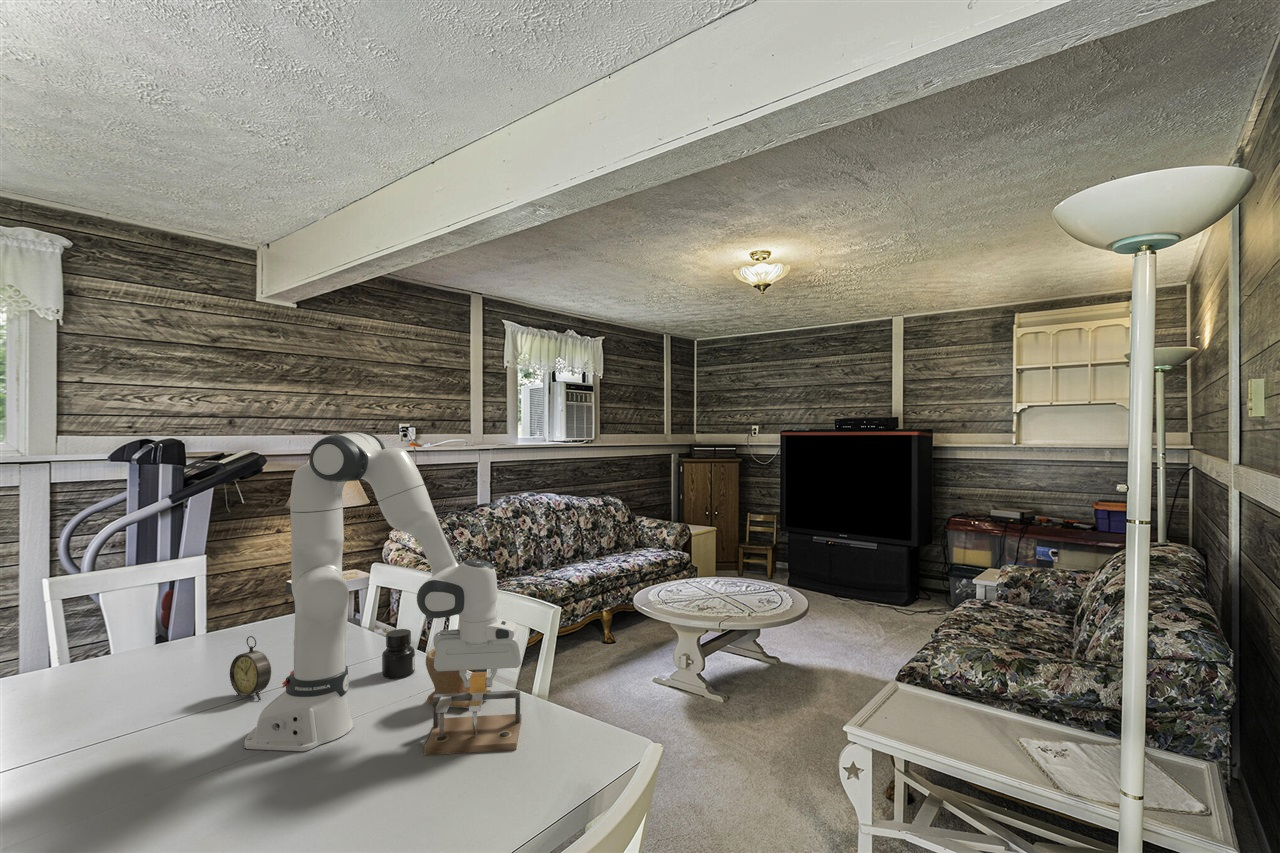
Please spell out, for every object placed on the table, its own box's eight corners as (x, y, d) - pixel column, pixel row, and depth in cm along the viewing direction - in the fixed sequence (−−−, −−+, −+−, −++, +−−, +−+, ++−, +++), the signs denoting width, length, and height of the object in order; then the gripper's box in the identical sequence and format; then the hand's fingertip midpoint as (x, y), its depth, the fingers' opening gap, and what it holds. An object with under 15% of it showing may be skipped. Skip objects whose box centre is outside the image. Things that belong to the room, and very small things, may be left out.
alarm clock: (228, 697, 165) (227, 636, 165) (247, 689, 170) (247, 630, 170) (256, 704, 161) (256, 641, 161) (275, 695, 166) (275, 635, 166)
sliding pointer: (466, 736, 140) (466, 686, 140) (472, 719, 148) (472, 672, 148) (482, 735, 140) (482, 686, 140) (487, 718, 148) (487, 671, 148)
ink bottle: (422, 672, 181) (422, 631, 181) (396, 682, 174) (395, 640, 174) (401, 665, 186) (400, 625, 186) (374, 675, 179) (374, 634, 179)
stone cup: (415, 708, 158) (415, 650, 158) (446, 690, 169) (446, 635, 169) (464, 719, 152) (463, 658, 152) (492, 699, 163) (492, 642, 163)
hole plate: (423, 755, 135) (423, 715, 135) (437, 724, 149) (437, 688, 149) (516, 749, 138) (516, 710, 138) (521, 719, 151) (521, 684, 151)
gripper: (430, 634, 142) (430, 694, 142) (520, 631, 144) (520, 690, 144) (436, 626, 148) (436, 683, 148) (522, 622, 151) (522, 679, 151)
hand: (478, 686), depth 146 cm, fingers closed on sliding pointer, 3 cm apart
